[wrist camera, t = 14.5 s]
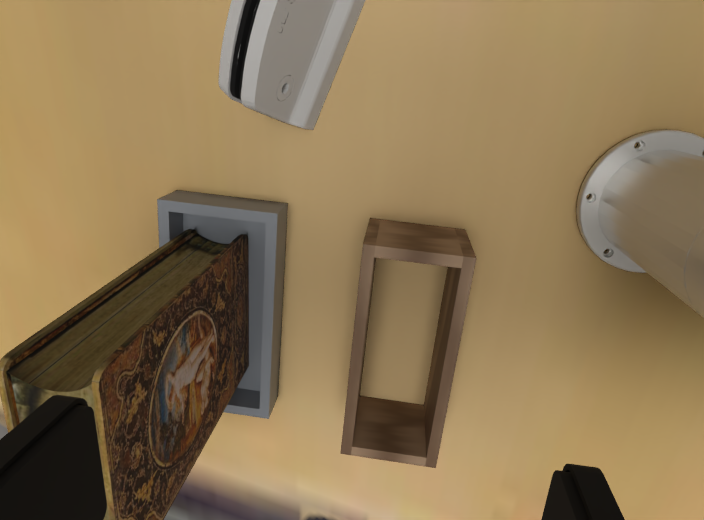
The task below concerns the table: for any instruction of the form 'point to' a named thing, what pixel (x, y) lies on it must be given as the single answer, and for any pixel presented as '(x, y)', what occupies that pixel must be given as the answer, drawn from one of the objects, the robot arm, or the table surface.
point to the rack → (428, 420)
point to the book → (145, 366)
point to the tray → (264, 278)
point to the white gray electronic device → (285, 54)
